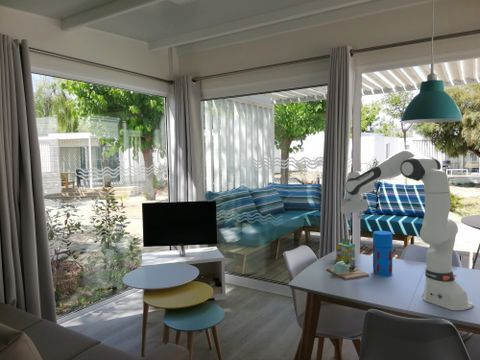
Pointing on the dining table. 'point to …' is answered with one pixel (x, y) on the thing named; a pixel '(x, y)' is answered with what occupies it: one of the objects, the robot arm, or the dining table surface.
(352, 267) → the metal door knob
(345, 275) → the board
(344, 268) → the rotary switch
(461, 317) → the dining table surface
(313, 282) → the dining table surface
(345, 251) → the chalk box
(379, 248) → the thermos
